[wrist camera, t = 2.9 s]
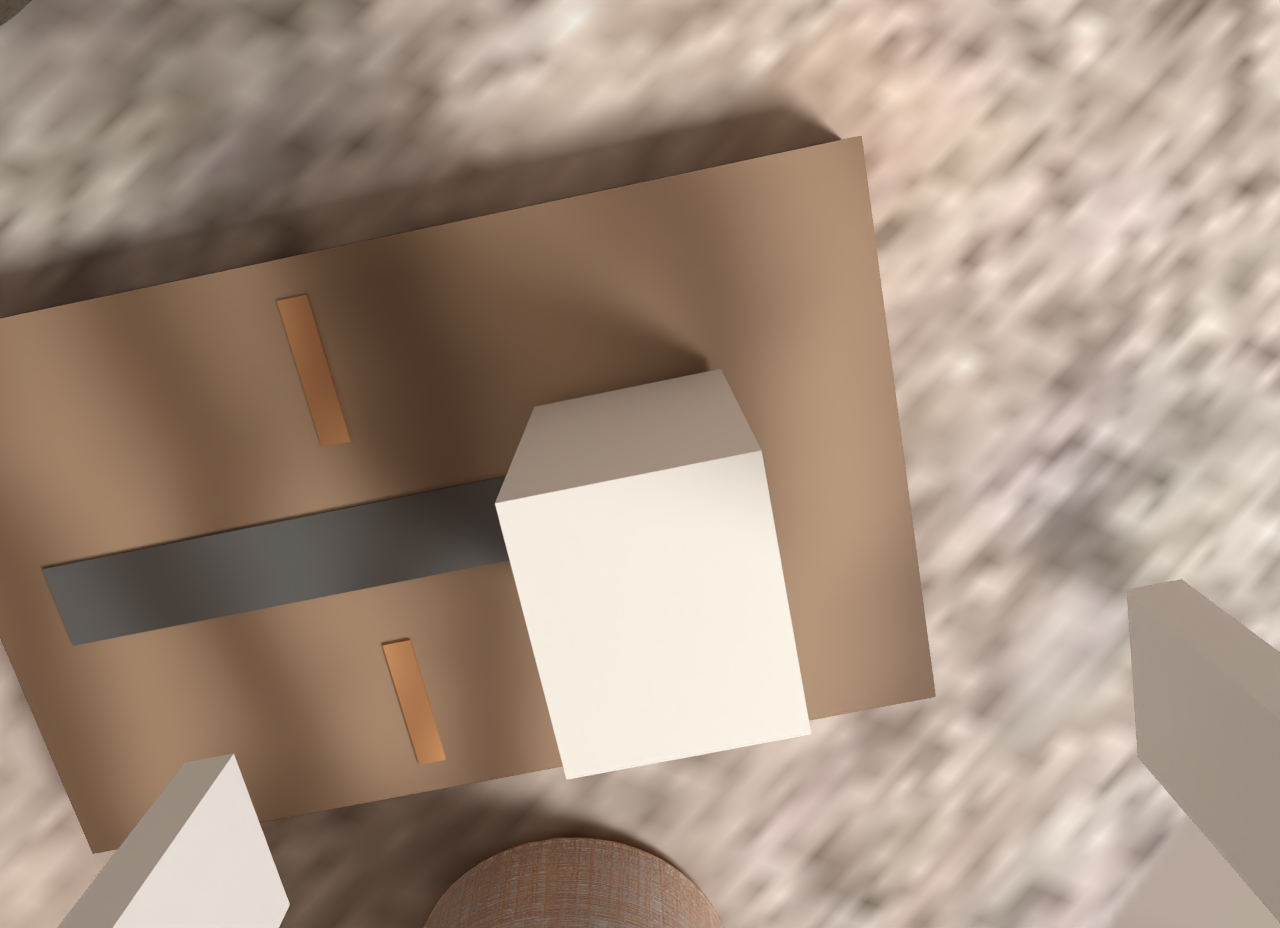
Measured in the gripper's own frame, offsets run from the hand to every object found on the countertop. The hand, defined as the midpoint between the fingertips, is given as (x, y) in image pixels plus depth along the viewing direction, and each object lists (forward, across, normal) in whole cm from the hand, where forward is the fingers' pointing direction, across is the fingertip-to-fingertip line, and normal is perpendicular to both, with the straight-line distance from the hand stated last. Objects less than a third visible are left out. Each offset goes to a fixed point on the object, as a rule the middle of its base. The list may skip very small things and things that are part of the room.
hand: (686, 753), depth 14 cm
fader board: (+15, +6, 0) cm, 16 cm away
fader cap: (+13, 0, 0) cm, 13 cm away
